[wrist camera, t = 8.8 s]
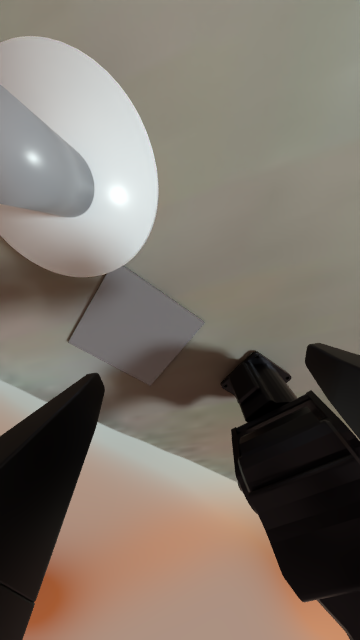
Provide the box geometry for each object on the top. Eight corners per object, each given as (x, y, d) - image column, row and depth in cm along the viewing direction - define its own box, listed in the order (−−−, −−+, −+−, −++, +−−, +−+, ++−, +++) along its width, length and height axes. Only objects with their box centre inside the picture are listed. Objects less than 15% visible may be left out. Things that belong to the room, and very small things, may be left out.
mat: (204, 321, 20) (204, 322, 20) (150, 383, 24) (150, 385, 23) (115, 260, 17) (114, 260, 17) (70, 340, 21) (68, 342, 21)
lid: (194, 163, 11) (207, 102, 6) (108, 303, 14) (73, 335, 10) (2, -22, 8) (-253, -403, 3) (-46, 207, 12) (-205, 184, 7)
